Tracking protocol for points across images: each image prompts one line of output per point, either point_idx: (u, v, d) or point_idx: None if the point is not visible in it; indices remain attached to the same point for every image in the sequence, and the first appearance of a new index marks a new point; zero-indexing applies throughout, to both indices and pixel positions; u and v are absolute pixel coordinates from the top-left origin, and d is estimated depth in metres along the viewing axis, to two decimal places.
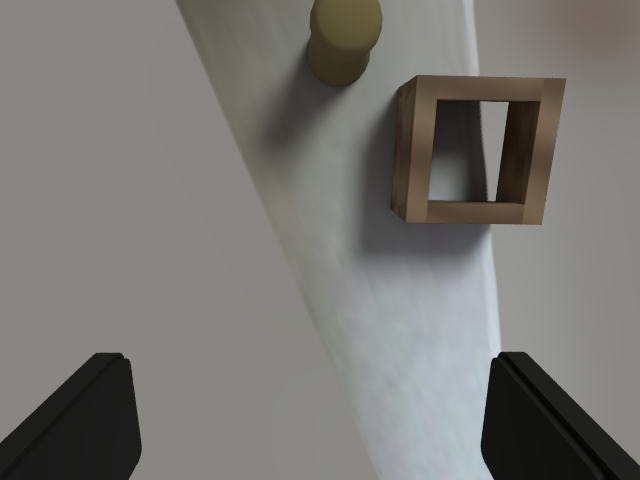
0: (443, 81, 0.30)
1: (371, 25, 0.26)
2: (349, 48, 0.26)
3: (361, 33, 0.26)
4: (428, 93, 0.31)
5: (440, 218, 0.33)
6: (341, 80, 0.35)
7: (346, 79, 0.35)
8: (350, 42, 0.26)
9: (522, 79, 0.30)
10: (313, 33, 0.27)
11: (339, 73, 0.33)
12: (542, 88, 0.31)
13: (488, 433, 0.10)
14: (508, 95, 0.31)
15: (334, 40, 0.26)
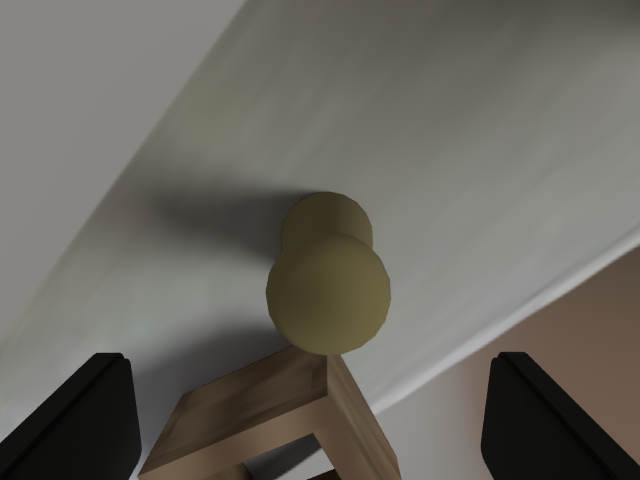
0: (338, 429, 0.20)
1: (335, 348, 0.15)
2: (285, 332, 0.15)
3: (315, 341, 0.15)
4: (313, 419, 0.20)
5: None
6: None
7: None
8: (293, 331, 0.15)
9: None
10: (281, 259, 0.15)
11: None
12: None
13: (488, 433, 0.10)
14: None
15: (282, 306, 0.14)
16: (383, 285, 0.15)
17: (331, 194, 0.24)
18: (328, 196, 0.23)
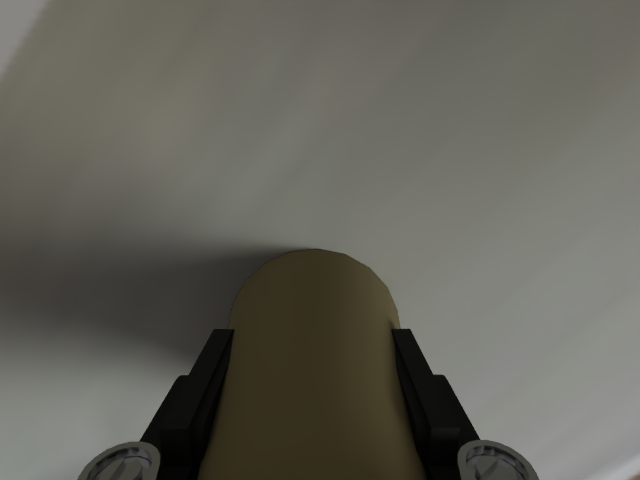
0: None
1: None
2: None
3: None
4: None
5: None
6: None
7: None
8: None
9: None
10: None
11: None
12: None
13: None
14: None
15: None
16: None
17: (322, 256, 0.12)
18: (316, 262, 0.12)
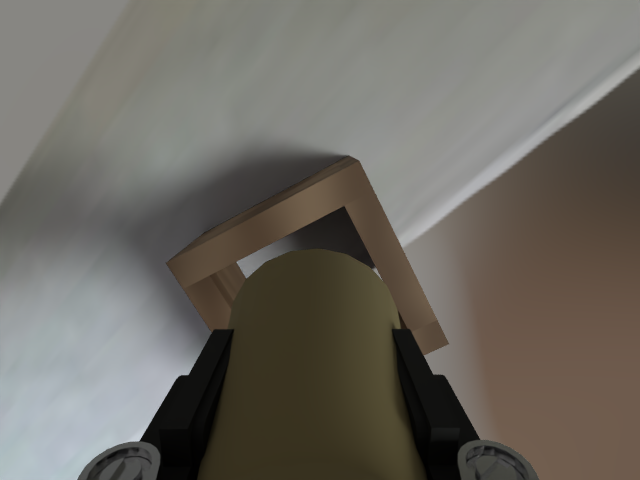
0: (369, 200, 0.20)
1: None
2: None
3: None
4: (344, 190, 0.20)
5: (200, 304, 0.22)
6: None
7: None
8: None
9: (422, 296, 0.22)
10: None
11: None
12: (425, 325, 0.22)
13: None
14: (396, 291, 0.22)
15: None
16: None
17: (322, 255, 0.12)
18: (316, 261, 0.12)
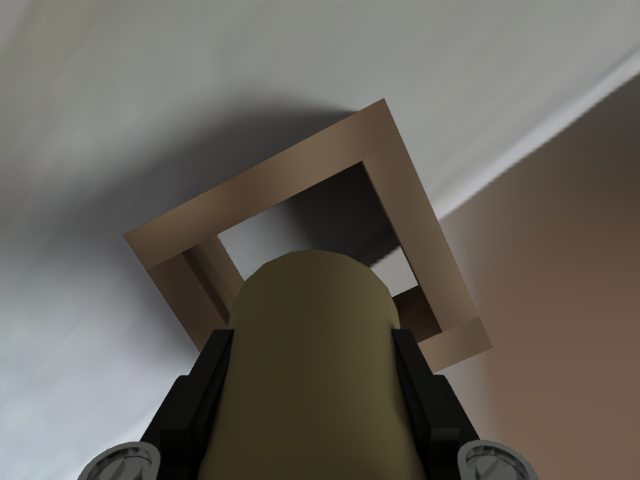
0: (396, 154, 0.15)
1: None
2: None
3: None
4: (363, 138, 0.15)
5: (170, 290, 0.17)
6: None
7: None
8: None
9: (461, 284, 0.16)
10: None
11: None
12: (463, 322, 0.17)
13: None
14: (427, 277, 0.16)
15: None
16: None
17: (322, 256, 0.12)
18: (316, 263, 0.12)
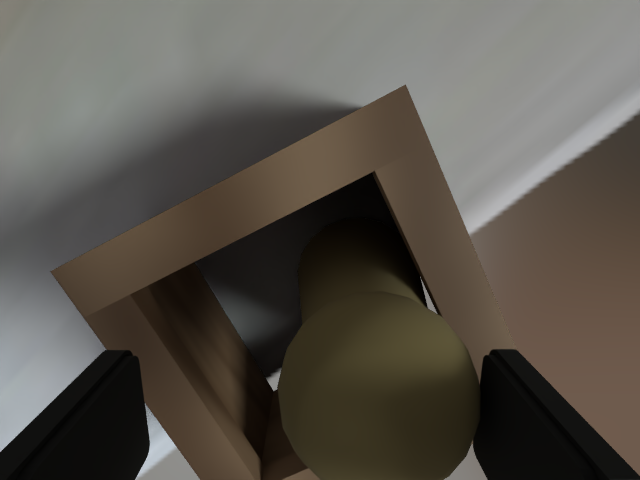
0: (421, 162, 0.11)
1: None
2: (309, 463, 0.09)
3: None
4: (376, 141, 0.11)
5: (116, 344, 0.12)
6: None
7: None
8: (322, 465, 0.09)
9: (505, 334, 0.12)
10: (305, 343, 0.09)
11: None
12: None
13: (480, 429, 0.10)
14: (459, 326, 0.12)
15: (306, 425, 0.09)
16: (474, 393, 0.09)
17: (366, 221, 0.18)
18: (362, 224, 0.17)
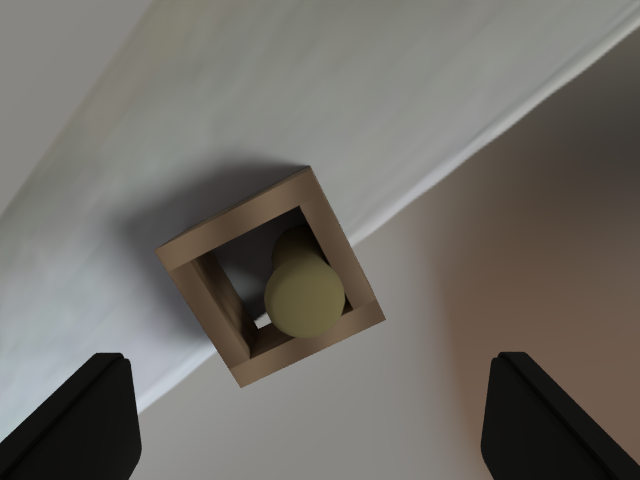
0: (319, 201, 0.25)
1: (309, 332, 0.23)
2: (277, 322, 0.23)
3: (295, 328, 0.23)
4: (299, 192, 0.25)
5: (182, 284, 0.26)
6: None
7: None
8: (282, 321, 0.23)
9: (363, 279, 0.27)
10: (274, 276, 0.23)
11: None
12: (366, 303, 0.27)
13: (488, 433, 0.10)
14: (342, 275, 0.27)
15: (275, 305, 0.23)
16: (339, 292, 0.23)
17: (309, 227, 0.32)
18: (307, 229, 0.32)
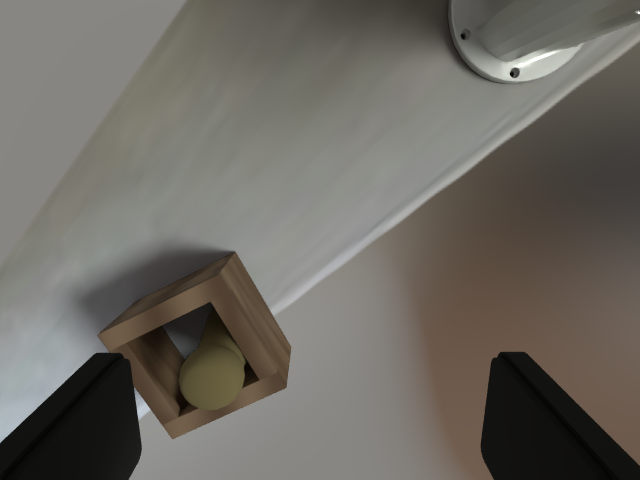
0: (226, 298, 0.32)
1: (212, 407, 0.30)
2: (187, 399, 0.30)
3: (201, 404, 0.30)
4: (210, 292, 0.32)
5: None
6: None
7: None
8: (190, 399, 0.30)
9: (265, 357, 0.33)
10: (185, 363, 0.30)
11: None
12: (269, 375, 0.34)
13: (488, 433, 0.10)
14: (248, 354, 0.33)
15: (184, 387, 0.30)
16: (235, 376, 0.30)
17: None
18: None
